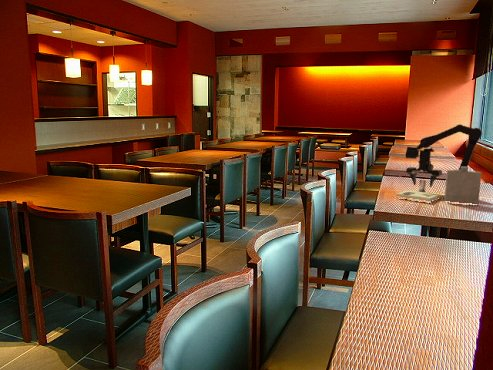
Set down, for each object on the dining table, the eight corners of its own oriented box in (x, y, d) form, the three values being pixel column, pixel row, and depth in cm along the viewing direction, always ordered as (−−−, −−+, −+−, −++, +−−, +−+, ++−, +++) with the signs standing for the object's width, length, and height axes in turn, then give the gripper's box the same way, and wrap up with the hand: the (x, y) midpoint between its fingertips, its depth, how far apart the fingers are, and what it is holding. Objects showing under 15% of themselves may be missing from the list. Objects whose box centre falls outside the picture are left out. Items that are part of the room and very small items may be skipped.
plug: (426, 193, 245) (427, 180, 244) (423, 194, 243) (424, 180, 242) (420, 192, 248) (421, 179, 246) (417, 193, 245) (418, 180, 244)
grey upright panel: (477, 205, 219) (481, 166, 216) (478, 206, 216) (482, 167, 212) (444, 202, 226) (447, 165, 222) (444, 203, 222) (447, 166, 218)
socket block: (439, 200, 231) (440, 194, 230) (429, 204, 221) (429, 197, 220) (407, 195, 243) (407, 189, 243) (396, 198, 234) (396, 193, 233)
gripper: (446, 159, 241) (444, 186, 244) (414, 156, 254) (412, 182, 257) (439, 161, 233) (437, 188, 236) (406, 158, 246) (404, 184, 249)
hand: (422, 186), depth 245 cm, fingers open, 9 cm apart
